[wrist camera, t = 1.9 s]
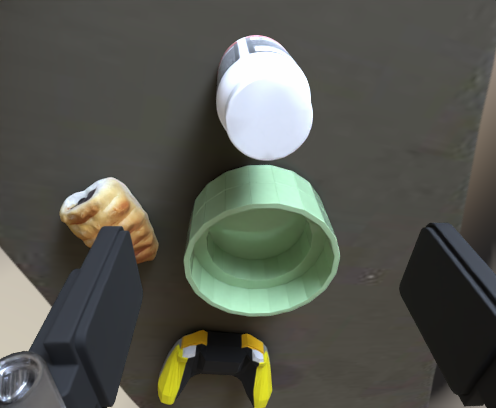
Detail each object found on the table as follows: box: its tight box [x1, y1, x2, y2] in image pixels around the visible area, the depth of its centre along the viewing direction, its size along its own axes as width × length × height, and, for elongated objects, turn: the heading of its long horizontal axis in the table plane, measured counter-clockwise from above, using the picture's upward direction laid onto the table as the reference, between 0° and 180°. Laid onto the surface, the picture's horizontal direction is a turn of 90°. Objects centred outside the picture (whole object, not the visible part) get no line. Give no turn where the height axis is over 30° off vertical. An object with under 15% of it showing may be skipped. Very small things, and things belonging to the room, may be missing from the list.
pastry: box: [59, 177, 159, 264], centre depth 32 cm, size 9×7×4 cm
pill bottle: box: [216, 35, 313, 161], centre depth 22 cm, size 6×6×10 cm
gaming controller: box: [158, 330, 272, 408], centre depth 44 cm, size 15×6×10 cm
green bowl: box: [184, 165, 340, 316], centre depth 31 cm, size 13×13×6 cm
